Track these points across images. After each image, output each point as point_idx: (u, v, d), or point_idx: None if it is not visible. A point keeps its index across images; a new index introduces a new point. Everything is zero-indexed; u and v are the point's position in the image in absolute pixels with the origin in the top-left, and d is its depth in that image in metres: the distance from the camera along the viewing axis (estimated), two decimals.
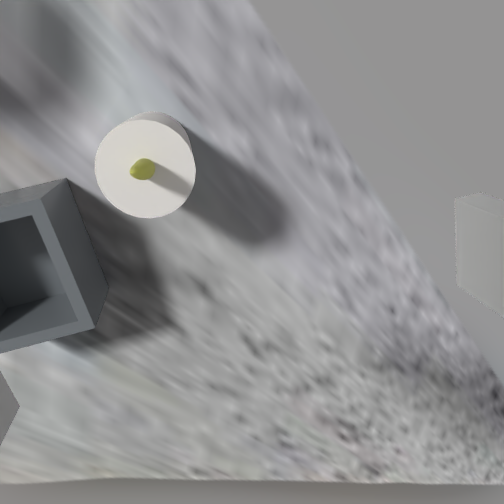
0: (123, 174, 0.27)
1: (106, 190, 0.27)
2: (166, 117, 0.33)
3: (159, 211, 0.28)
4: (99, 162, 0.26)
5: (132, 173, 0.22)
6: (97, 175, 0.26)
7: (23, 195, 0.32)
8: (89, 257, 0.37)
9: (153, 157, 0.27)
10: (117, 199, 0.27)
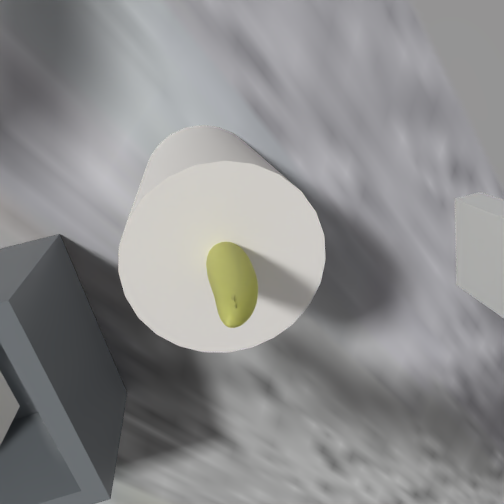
0: (177, 274, 0.12)
1: (141, 306, 0.13)
2: (236, 139, 0.18)
3: (246, 339, 0.14)
4: (128, 252, 0.12)
5: (231, 325, 0.08)
6: (123, 278, 0.12)
7: None
8: (98, 360, 0.23)
9: (243, 238, 0.12)
10: (163, 321, 0.13)
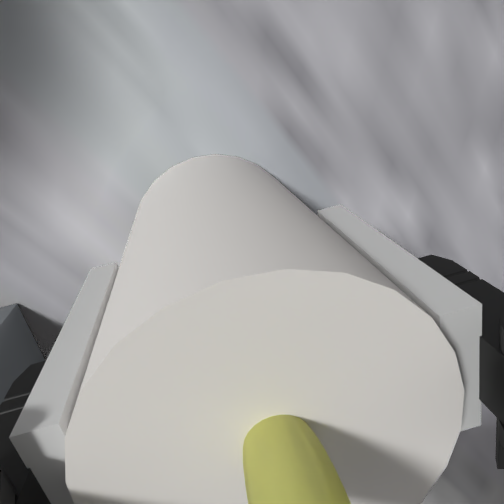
0: (185, 474, 0.06)
1: None
2: (269, 179, 0.12)
3: None
4: (85, 447, 0.06)
5: None
6: (77, 492, 0.06)
7: None
8: None
9: (313, 406, 0.06)
10: None
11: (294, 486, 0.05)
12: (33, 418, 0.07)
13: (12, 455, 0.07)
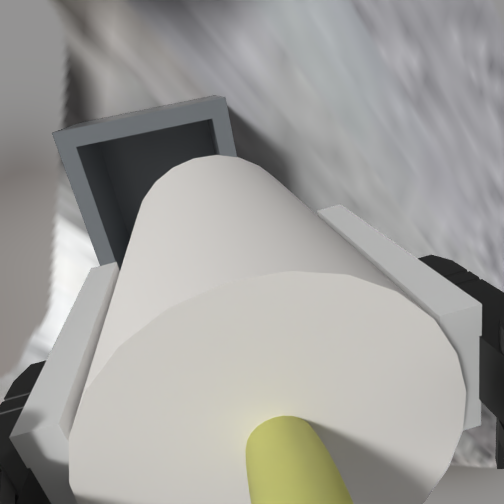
0: (189, 475, 0.06)
1: None
2: (270, 180, 0.12)
3: None
4: (89, 448, 0.06)
5: None
6: (81, 492, 0.06)
7: (186, 103, 0.27)
8: None
9: (316, 408, 0.06)
10: None
11: (298, 487, 0.05)
12: (33, 418, 0.07)
13: (12, 455, 0.07)
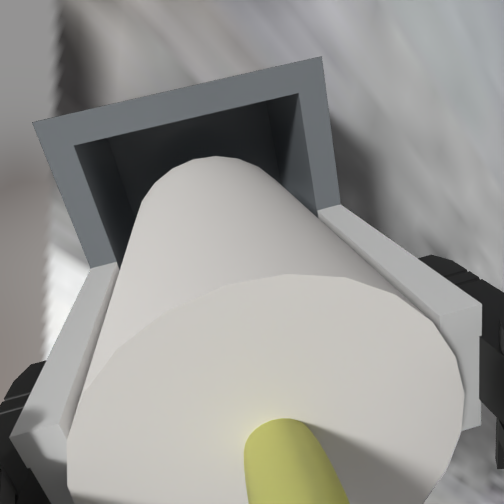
0: (186, 479, 0.06)
1: None
2: (269, 182, 0.12)
3: None
4: (87, 451, 0.06)
5: None
6: (79, 495, 0.06)
7: None
8: None
9: (314, 411, 0.06)
10: None
11: (295, 490, 0.05)
12: (33, 418, 0.07)
13: (12, 455, 0.07)
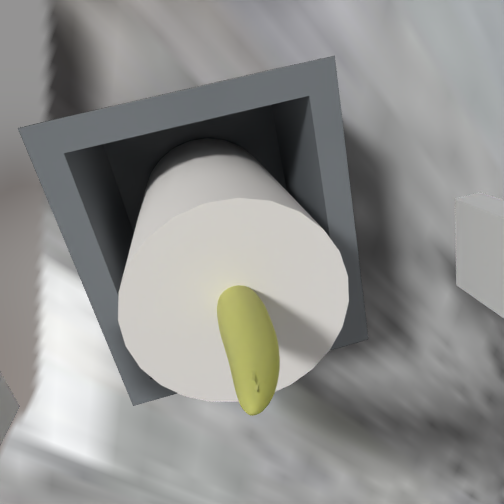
0: (184, 320, 0.11)
1: (144, 356, 0.11)
2: (245, 156, 0.17)
3: None
4: (129, 299, 0.11)
5: (253, 413, 0.07)
6: (123, 327, 0.11)
7: None
8: None
9: (258, 281, 0.11)
10: (169, 371, 0.12)
11: (240, 305, 0.10)
12: None
13: None
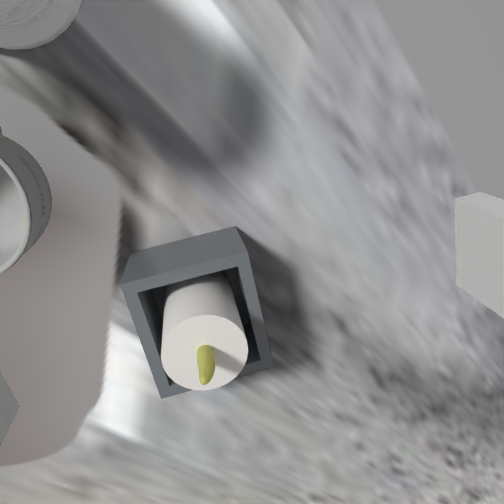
0: (185, 357, 0.30)
1: (169, 371, 0.30)
2: (214, 278, 0.36)
3: (214, 384, 0.31)
4: (165, 350, 0.30)
5: (203, 384, 0.26)
6: (162, 360, 0.30)
7: (215, 245, 0.35)
8: None
9: (212, 343, 0.30)
10: (178, 377, 0.30)
11: (203, 353, 0.29)
12: None
13: None
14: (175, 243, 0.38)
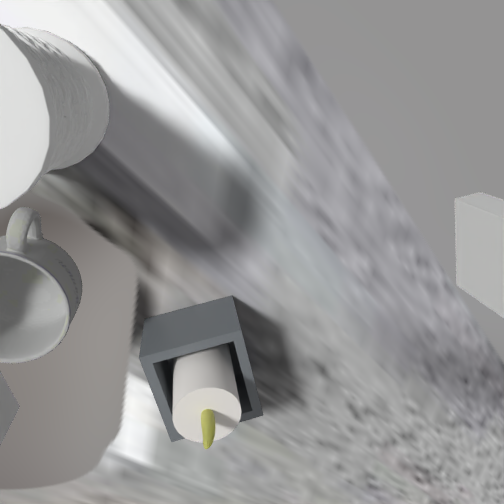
0: (191, 419, 0.38)
1: (179, 429, 0.38)
2: None
3: (215, 437, 0.39)
4: (175, 413, 0.38)
5: (206, 448, 0.34)
6: (174, 421, 0.38)
7: (215, 319, 0.43)
8: None
9: (212, 407, 0.38)
10: (186, 433, 0.39)
11: (206, 418, 0.37)
12: None
13: None
14: (182, 311, 0.46)
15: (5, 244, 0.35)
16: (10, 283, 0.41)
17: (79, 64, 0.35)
